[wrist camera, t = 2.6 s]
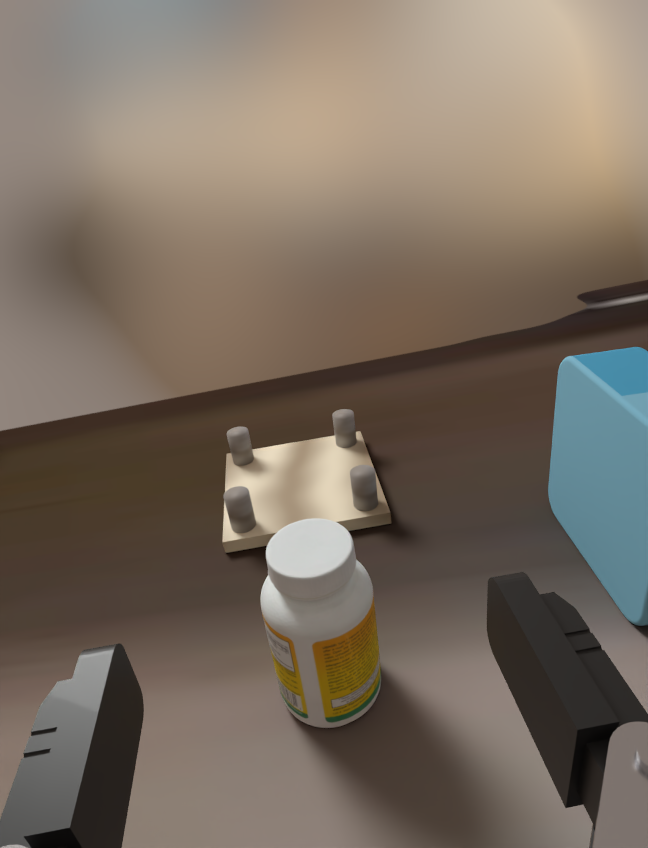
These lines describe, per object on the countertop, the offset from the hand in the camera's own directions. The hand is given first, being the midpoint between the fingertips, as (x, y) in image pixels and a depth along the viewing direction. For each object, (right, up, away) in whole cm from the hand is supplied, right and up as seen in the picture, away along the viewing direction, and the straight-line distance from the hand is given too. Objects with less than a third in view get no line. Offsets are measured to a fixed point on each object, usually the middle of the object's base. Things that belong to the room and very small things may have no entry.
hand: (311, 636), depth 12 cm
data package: (+19, -4, +23) cm, 30 cm away
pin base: (-2, -1, +34) cm, 34 cm away
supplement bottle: (+1, -9, +18) cm, 20 cm away
